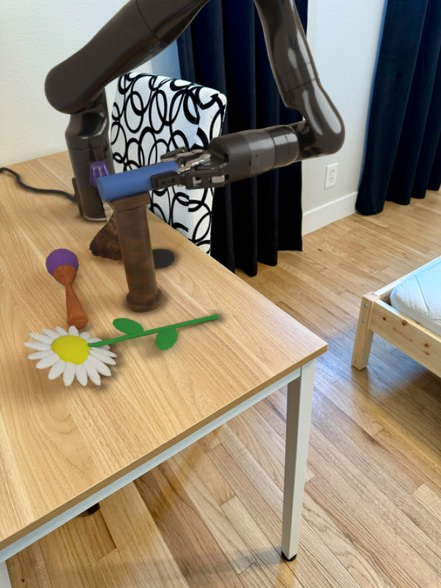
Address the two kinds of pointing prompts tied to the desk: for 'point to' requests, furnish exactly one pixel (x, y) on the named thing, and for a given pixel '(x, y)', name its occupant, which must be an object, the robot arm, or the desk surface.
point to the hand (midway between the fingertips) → (146, 178)
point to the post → (137, 251)
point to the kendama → (67, 284)
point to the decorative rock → (107, 242)
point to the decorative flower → (93, 348)
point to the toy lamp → (96, 171)
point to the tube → (131, 181)
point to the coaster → (162, 258)
